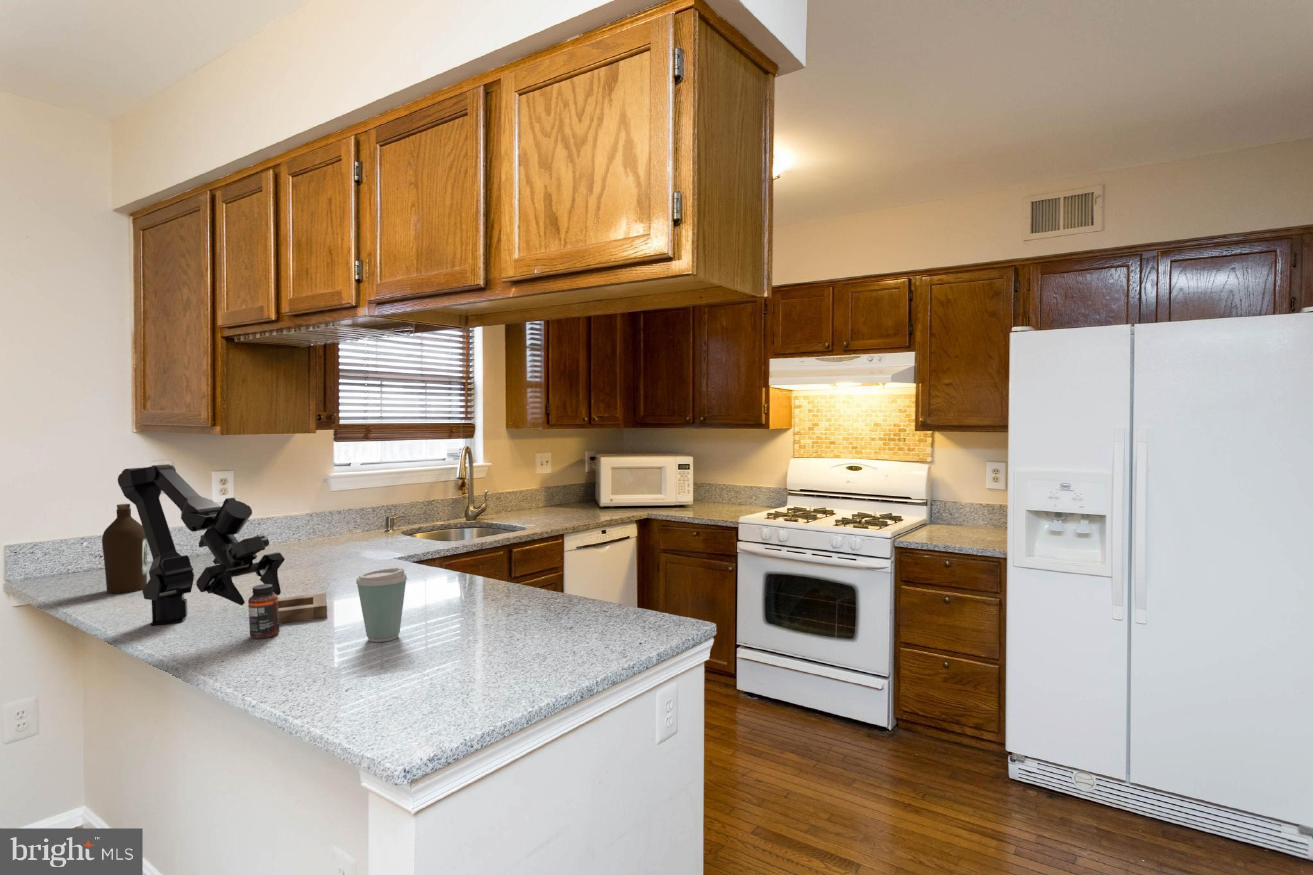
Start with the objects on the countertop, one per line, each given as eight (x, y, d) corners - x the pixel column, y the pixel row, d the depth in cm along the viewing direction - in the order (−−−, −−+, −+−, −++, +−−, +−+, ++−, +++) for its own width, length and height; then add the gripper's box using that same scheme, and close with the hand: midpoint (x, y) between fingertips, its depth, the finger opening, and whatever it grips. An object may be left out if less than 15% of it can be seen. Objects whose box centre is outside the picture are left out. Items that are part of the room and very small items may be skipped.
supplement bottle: (272, 629, 168) (271, 581, 167) (284, 634, 164) (282, 585, 164) (245, 636, 163) (243, 586, 163) (256, 641, 159) (254, 590, 159)
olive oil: (105, 596, 203) (101, 507, 202) (103, 589, 211) (99, 504, 210) (151, 590, 209) (147, 504, 209) (147, 583, 218) (144, 501, 217)
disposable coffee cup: (354, 647, 154) (352, 577, 153) (360, 633, 164) (358, 567, 163) (407, 642, 157) (405, 573, 156) (409, 628, 167) (408, 564, 166)
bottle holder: (262, 625, 171) (261, 613, 171) (265, 611, 184) (265, 599, 184) (327, 617, 177) (326, 605, 177) (326, 604, 190) (326, 592, 190)
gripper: (202, 530, 156) (240, 584, 153) (277, 518, 174) (313, 566, 170) (180, 564, 160) (216, 618, 156) (255, 549, 177) (290, 597, 173)
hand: (261, 598), depth 164 cm, fingers open, 9 cm apart
